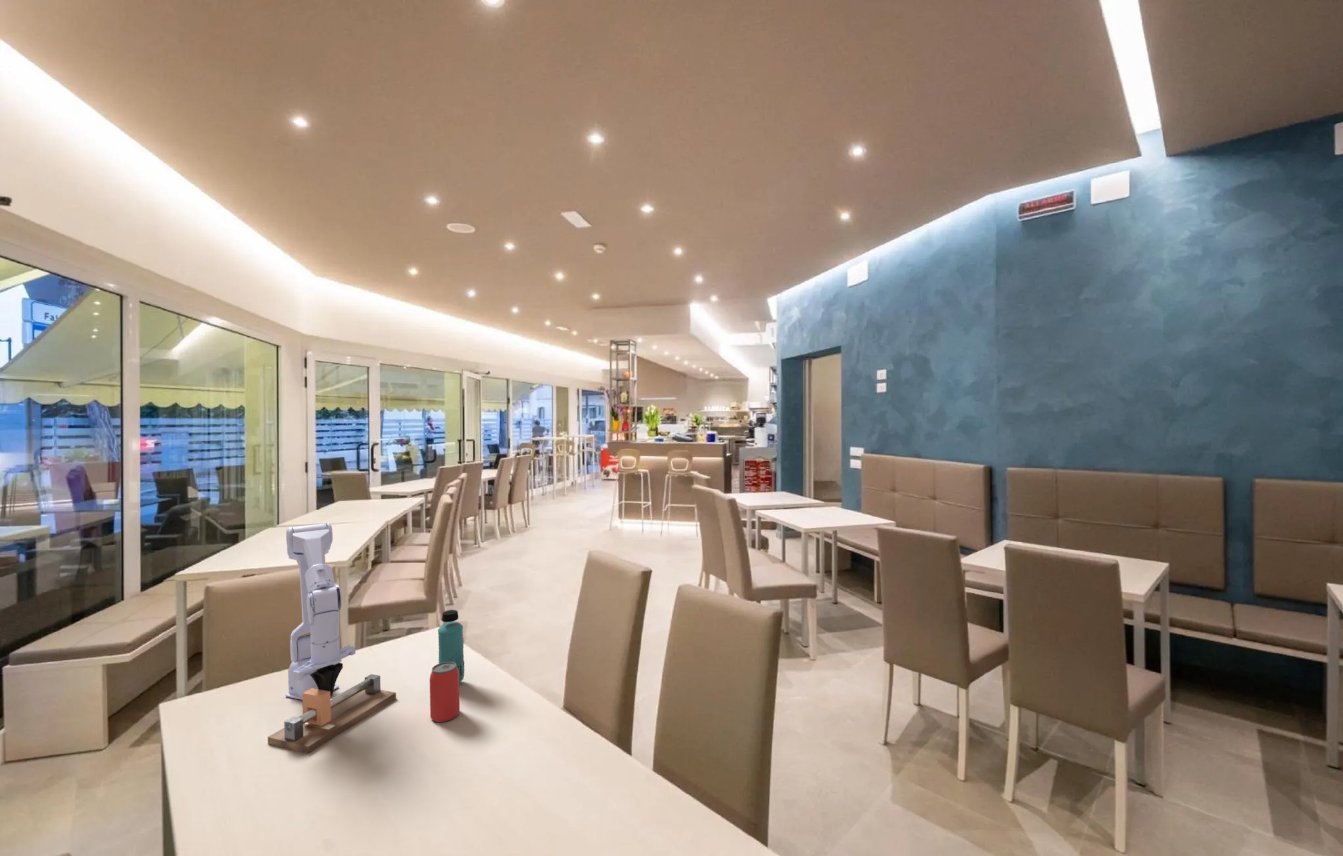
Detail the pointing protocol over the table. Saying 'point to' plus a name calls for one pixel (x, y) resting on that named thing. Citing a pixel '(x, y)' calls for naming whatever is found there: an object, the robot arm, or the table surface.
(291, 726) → the pipe stand
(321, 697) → the collar
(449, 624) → the beverage bottle
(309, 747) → the board
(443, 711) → the beer can
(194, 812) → the table surface
